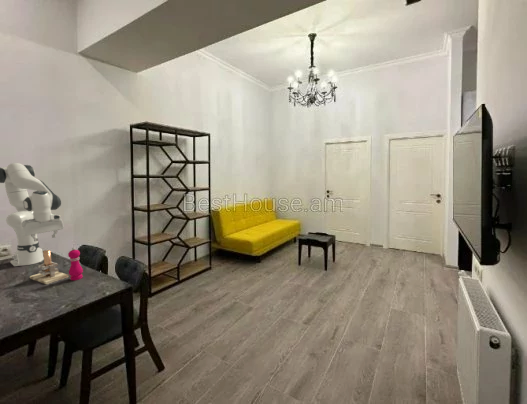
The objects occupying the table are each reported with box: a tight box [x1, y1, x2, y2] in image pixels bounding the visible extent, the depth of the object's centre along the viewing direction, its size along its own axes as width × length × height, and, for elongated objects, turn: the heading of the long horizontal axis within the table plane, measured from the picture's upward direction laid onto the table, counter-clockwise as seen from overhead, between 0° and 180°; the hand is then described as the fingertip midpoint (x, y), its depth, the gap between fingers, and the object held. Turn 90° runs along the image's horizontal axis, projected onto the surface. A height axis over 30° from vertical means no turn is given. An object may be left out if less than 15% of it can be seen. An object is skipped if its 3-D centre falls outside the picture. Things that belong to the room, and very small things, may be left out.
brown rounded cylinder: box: [42, 249, 53, 277], centre depth 167 cm, size 4×4×16 cm
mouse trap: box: [29, 261, 70, 285], centre depth 167 cm, size 20×12×9 cm, turn 63°
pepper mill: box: [67, 247, 84, 281], centre depth 165 cm, size 7×7×20 cm
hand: (45, 239), depth 165 cm, fingers open, 8 cm apart
